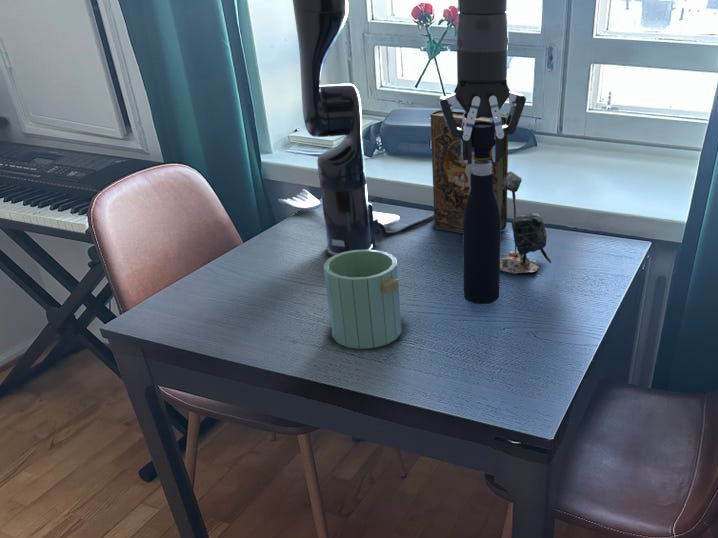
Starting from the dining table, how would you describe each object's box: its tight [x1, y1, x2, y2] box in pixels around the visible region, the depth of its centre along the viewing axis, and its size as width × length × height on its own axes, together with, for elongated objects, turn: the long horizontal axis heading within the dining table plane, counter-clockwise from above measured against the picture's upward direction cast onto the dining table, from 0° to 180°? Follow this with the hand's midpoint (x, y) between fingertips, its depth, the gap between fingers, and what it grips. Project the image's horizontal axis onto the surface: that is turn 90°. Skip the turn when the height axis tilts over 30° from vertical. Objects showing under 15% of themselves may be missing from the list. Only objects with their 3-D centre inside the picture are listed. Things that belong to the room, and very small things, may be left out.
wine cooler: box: [323, 249, 402, 350], centre depth 116 cm, size 12×14×12 cm
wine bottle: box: [462, 122, 502, 305], centre depth 117 cm, size 6×6×30 cm
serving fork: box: [277, 188, 400, 229], centre depth 164 cm, size 9×32×4 cm, turn 59°
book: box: [429, 109, 509, 234], centre depth 152 cm, size 16×6×25 cm, turn 65°
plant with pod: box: [500, 171, 552, 275], centre depth 135 cm, size 8×11×20 cm
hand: (481, 161), depth 112 cm, fingers closed on wine bottle, 4 cm apart
